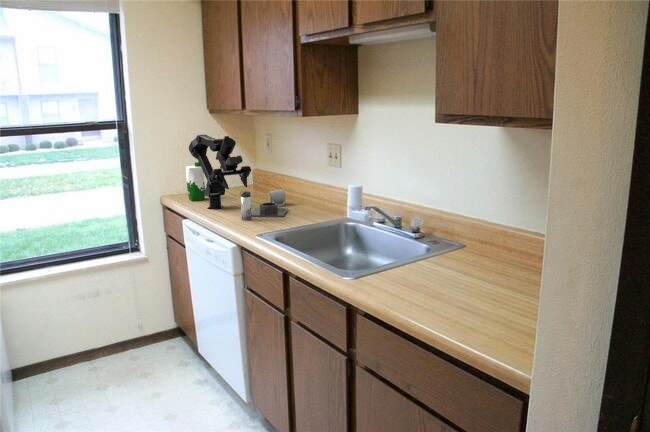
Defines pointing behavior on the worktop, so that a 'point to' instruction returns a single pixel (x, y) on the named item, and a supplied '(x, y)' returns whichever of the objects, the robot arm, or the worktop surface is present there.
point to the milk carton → (195, 182)
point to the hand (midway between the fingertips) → (237, 187)
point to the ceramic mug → (277, 197)
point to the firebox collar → (269, 210)
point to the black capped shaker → (246, 205)
